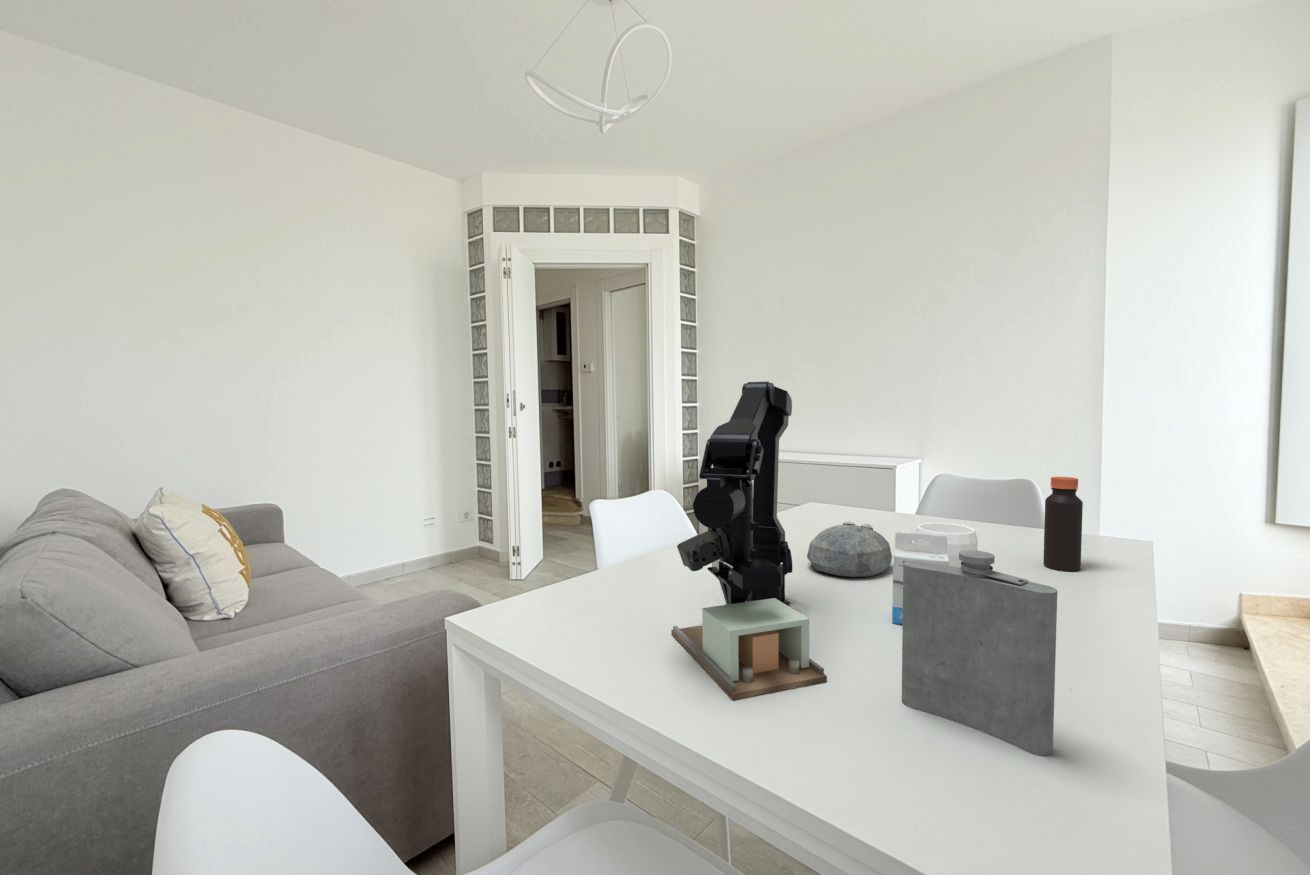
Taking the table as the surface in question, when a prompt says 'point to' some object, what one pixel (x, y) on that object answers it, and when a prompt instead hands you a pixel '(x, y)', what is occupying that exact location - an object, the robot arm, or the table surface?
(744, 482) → the robot arm
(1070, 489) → the bottle
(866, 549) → the decorative stone
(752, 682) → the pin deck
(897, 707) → the table surface
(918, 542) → the cup
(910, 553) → the ink box
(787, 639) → the housing
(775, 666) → the block
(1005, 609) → the hip flask
